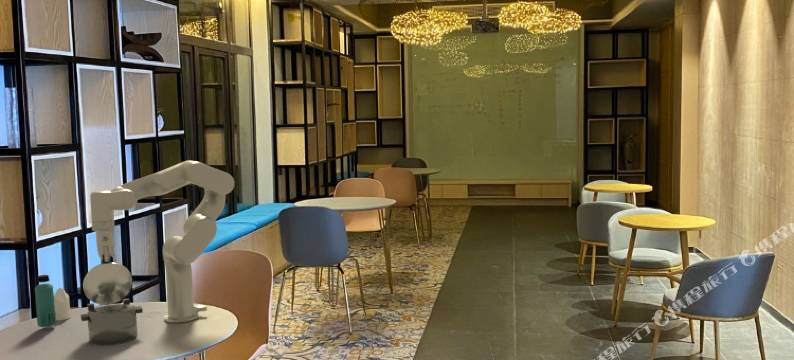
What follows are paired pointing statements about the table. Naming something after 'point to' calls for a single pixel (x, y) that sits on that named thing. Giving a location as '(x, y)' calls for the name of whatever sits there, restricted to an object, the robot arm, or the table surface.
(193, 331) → the table surface
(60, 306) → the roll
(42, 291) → the beverage bottle
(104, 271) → the cooker lid
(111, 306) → the cooker pot
